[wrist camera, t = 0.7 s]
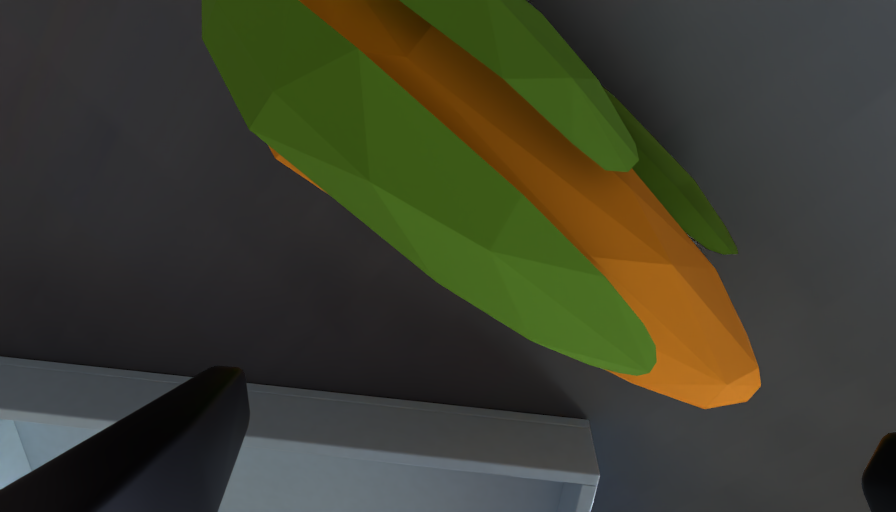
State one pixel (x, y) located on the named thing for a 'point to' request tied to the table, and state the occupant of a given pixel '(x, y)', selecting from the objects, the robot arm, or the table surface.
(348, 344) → the table surface
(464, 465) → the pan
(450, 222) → the corn
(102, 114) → the table surface
